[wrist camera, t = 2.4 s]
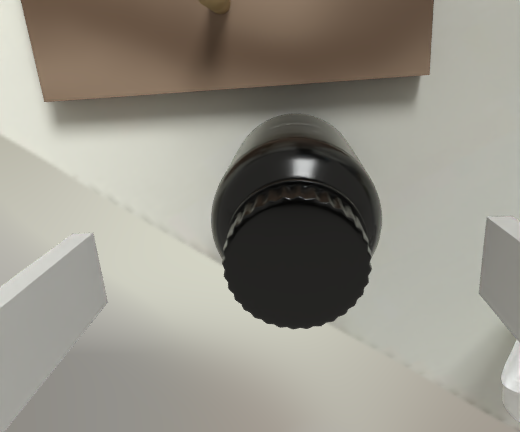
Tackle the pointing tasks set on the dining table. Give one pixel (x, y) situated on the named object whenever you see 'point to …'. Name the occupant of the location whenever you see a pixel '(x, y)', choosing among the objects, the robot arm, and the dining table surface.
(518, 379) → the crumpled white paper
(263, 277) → the supplement bottle
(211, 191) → the dining table surface
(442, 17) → the dining table surface
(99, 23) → the pin board
